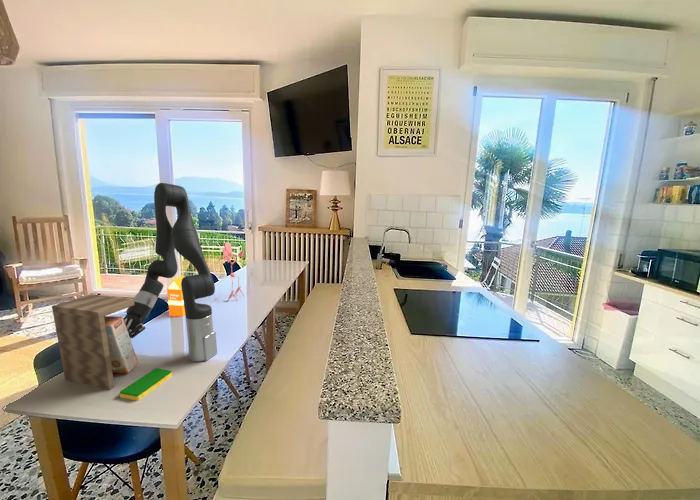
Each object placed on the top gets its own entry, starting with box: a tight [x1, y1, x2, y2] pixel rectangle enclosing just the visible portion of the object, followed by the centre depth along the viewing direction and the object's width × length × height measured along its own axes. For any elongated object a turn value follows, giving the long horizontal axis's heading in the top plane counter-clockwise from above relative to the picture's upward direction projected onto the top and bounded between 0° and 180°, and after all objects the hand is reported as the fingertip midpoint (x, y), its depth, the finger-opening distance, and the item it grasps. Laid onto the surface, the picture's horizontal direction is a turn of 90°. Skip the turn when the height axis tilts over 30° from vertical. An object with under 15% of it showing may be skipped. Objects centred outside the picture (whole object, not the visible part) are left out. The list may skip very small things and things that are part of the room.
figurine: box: [216, 241, 245, 302], centre depth 184 cm, size 15×26×35 cm, turn 175°
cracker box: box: [104, 315, 139, 374], centre depth 107 cm, size 14×6×21 cm, turn 87°
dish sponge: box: [119, 367, 173, 402], centre depth 101 cm, size 7×14×2 cm, turn 167°
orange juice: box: [166, 275, 185, 317], centre depth 161 cm, size 8×9×20 cm
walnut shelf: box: [51, 293, 135, 391], centre depth 105 cm, size 20×12×27 cm, turn 76°
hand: (117, 348), depth 111 cm, fingers closed
